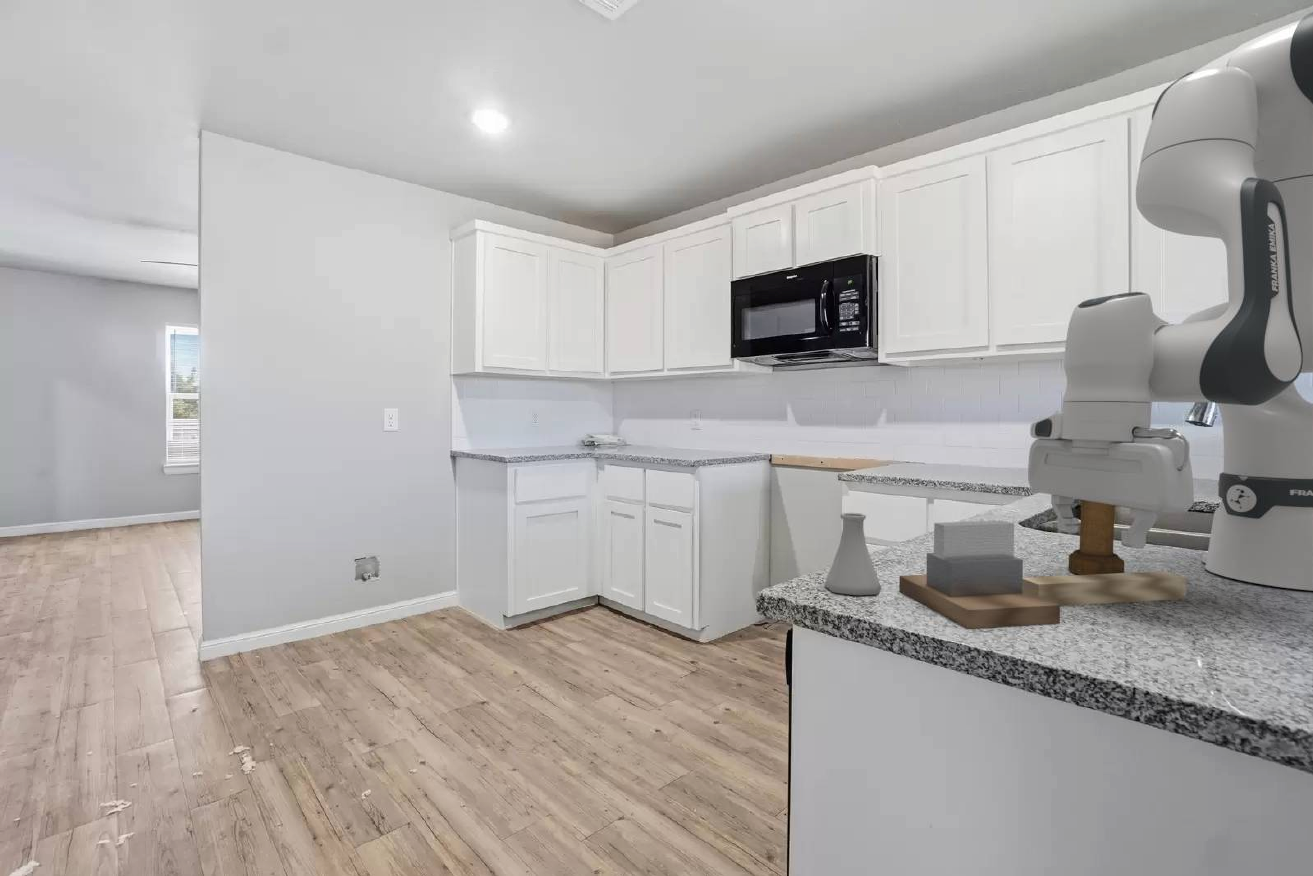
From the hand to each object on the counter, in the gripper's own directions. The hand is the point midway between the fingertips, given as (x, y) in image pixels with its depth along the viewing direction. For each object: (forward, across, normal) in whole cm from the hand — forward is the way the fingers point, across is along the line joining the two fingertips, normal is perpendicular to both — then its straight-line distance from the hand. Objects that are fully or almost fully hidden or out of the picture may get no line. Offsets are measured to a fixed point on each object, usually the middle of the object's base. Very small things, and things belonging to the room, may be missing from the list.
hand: (1098, 538), depth 75 cm
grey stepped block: (+6, 0, +16) cm, 17 cm away
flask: (+9, +9, +27) cm, 30 cm away
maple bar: (+8, 0, -1) cm, 8 cm away
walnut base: (+8, 0, +16) cm, 18 cm away
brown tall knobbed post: (+7, +11, -10) cm, 16 cm away
